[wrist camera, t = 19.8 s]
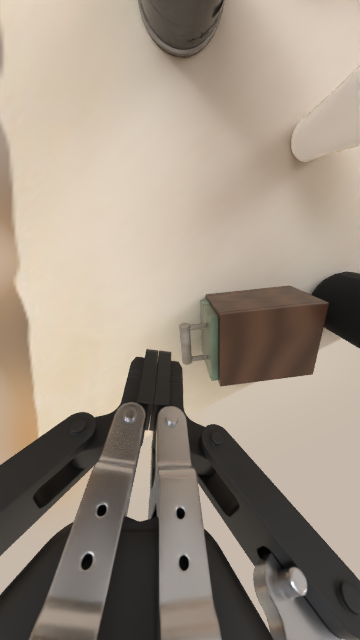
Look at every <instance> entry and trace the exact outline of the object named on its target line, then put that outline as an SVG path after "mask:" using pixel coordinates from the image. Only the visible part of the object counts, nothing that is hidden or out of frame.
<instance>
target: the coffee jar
mask: <svg viewBox="0 0 360 640" xmlns="http://www.w3.org/2000/svg"><path fill="white" fill-rule="evenodd" d="M312 296H315V297H317V298H319V299H321V300H324V301H326V302H328V303H329V305H328V310H327V314H326V318H325V323H324V327H325V328H326V329H328V330H330V331H331V332H333V333H335V334H336V335H338V336H340V337H341V338H343V339H345V340H346V341H348V342H350V343H351V344H353V345H355V346H356V347H358V348H360V274H359V273H353V272H343V273H339V274H335V275H333V276H331V277H329V278H327V279H325V280H324V281H323V282H321V283H320V284H319V285H318V286H317V288H316V289H315V290H314V292H313V293H312Z"/></svg>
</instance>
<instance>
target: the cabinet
mask: <svg viewBox="0 0 360 640" xmlns="http://www.w3.org/2000/svg"><path fill="white" fill-rule="evenodd" d="M206 299H207V300H208V302H209V303H210V305H211V306H212V308H213V309H214V311H215V312H216V314H217V315H218V317H219V380H218V382H219V384H220V386H227V385H235V384H242V383H250V382H258V381H265V380H273V379H281V378H288V377H296V376H303V375H311V374H313V371H314V367H315V362H316V358H317V353H318V349H319V345H320V340H321V336H322V332H323V327H324V323H325V318H326V314H327V310H328V305H329V303H328V302H326V301H324V300H321V299H319V298H317V297H315V296H312V295H310V294H308V293H305V292H303V291H301V290H299V289H296V288H294V287H292V286H282V287H272V288H263V289H253V290H244V291H235V292H225V293H216V294H206Z"/></svg>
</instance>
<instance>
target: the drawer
mask: <svg viewBox="0 0 360 640" xmlns="http://www.w3.org/2000/svg"><path fill="white" fill-rule="evenodd" d="M200 306H201V324H195V325H189V324H187V323H183V324H180V326H179V327H180V338H181V349H182V360H183V363H184V364H186V365H188V364H191V363H192V361H198V360H205V363H206V366H207V369H208V372H209V374H210V377H211V380H212V381H213V380H219V317H218V315H217V314H216V312H215V311H214V309H213V308H212V306H211V305H210V303H209V302H208V300H207V299H206V300H200ZM193 329H201V330H202V353H203V355H200V356H192V354H191V340H190V330H193Z"/></svg>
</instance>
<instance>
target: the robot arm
mask: <svg viewBox="0 0 360 640" xmlns="http://www.w3.org/2000/svg"><path fill="white" fill-rule="evenodd" d="M138 3H139V8H140V12H141V15H142V19H143V21H144V24H145V26H146V28H147V30H148V32H149V34H150V35H151V37H152V38H153V40H154V41H155V42H156V43H157V44H158V45H159V46H160V47H161V48H162V49H163V50H165V51H166V52H168V53H170V54H172V55H175V56H180V57H185V56H190V55H193V54H195V53H197V52H199V51H200V50H202V49H203V48H204V47H205V46H206V45H207V44H208V42H209V41H210V40H211V38H212V36H213V35H214V33H215V31H216V28H217V26H218V23H219V20H220V16H221V13H222V9H223V4H224V0H138ZM157 359H158V361H157ZM150 416H151V419H150ZM149 422H150V428H149V430H151V431H153V440H152V446H151V478H150V498H149V511H148V512H149V513H148V520H145V521H141V522H139V521H136V520H134V519H131V518H129V517H127V513H128V507H129V502H130V497H131V492H132V487H133V482H134V477H135V472H136V467H137V463H138V458H139V453H140V448H141V446H142V443H143V438H144V432H145V430H148V427H149ZM93 466H94V468H93V470H92V473H91V476H90V478H89V481H88V484H87V487H86V489H85V492H84V495H83V498H82V500H81V503H80V506H79V509H78V512H77V514H76V517H75V520H74V522H72V523H71V524H69V525H67V526H66V527H64V528H63V529H62V530H60V531H59V532H58V533H57V534H56V535H54V536H53V537H52V538H51V539H50V540H49V541H48V542H47V543H46V544H45V546H44V547H43V548H42V549H41V550H40V551H39V552H38V553H37V554H36V556H35V557H34V558H33V559H32V560H31V561H30V562H29V563H28V564H27V566H26V567H25V568H24V569H23V570H22V571H21V572H20V573H19V575H18V576H17V577H16V578H15V579H14V580H13V581H12V582H11V583H10V585H9V586H8V587H7V588H6V589H5V590H4V591H3V592H2V594H1V595H0V640H360V581H359V579H358V578H357V577H356V576H355V575H354V573H353V572H352V571H351V570H350V569H349V568H348V567H347V566H346V565H345V564H344V562H343V561H342V560H341V559H340V558H339V557H338V555H337V554H336V553H335V552H334V551H333V550H332V549H331V548H330V547H329V545H328V544H327V543H326V542H325V541H324V540H323V539H322V538H321V536H320V535H319V534H318V533H317V532H316V531H315V530H314V529H313V528H312V526H311V525H310V524H309V523H308V522H307V521H306V520H305V519H304V517H303V516H302V515H301V514H300V513H299V512H298V511H297V510H296V508H295V507H294V506H293V505H292V504H291V503H290V502H289V501H288V500H287V498H286V497H285V496H284V495H283V494H282V493H281V492H280V490H279V489H278V488H277V487H276V486H275V485H274V484H273V483H272V482H271V480H270V479H269V478H268V477H267V476H266V475H265V474H264V473H263V471H262V470H261V469H260V468H259V467H258V466H257V465H256V464H255V462H254V461H253V460H252V459H251V458H250V457H249V456H248V455H247V453H246V452H245V451H244V450H243V449H242V448H241V447H240V446H239V444H238V443H237V442H236V441H235V440H234V439H233V438H232V437H231V436H230V434H229V433H228V432H227V431H226V430H225V429H224V428H223V427H221V426H219V425H215V424H211V425H208V426H206V427H204V426H201V425H199V424H197V423H195V422H193V421H191V420H190V419H189V418H188V417H187V415H186V414H185V412H184V407H183V378H182V367H181V365H180V363H179V362H176V361H171V352H166V351H159V355H158V351H157V350H149V349H146V355H145V358H142V357H136V358H135V359H134V360H133V361H132V362H131V365H130V369H129V373H128V378H127V381H126V385H125V389H124V393H123V397H122V401H121V404H120V405H119V407H118V408H117V409H116V410H115V411H113V412H112V413H110V414H107V415H103V416H99V417H93V416H92V415H91V414H89V413H86V412H80V413H76V414H73V415H71V416H70V417H68V418H67V419H65V420H64V421H62V422H61V423H60V424H58V425H57V426H55V427H54V428H52V429H51V430H50V431H48V432H47V433H45V434H44V435H42V436H41V437H40V438H38V439H37V440H35V441H34V442H33V443H31V444H30V445H28V446H27V447H25V448H24V449H23V450H21V451H20V452H18V453H17V454H15V455H14V456H13V457H11V458H10V459H8V460H7V461H6V462H4V463H3V464H1V465H0V556H1V555H2V554H3V553H4V552H5V551H6V550H7V549H8V548H9V547H10V546H11V545H12V544H13V543H14V542H15V541H16V540H17V539H18V538H19V537H20V536H21V535H23V534H24V533H25V532H26V531H27V530H28V529H29V528H30V527H31V526H32V525H33V524H34V523H35V522H36V521H37V520H38V519H39V518H40V517H41V516H42V515H43V514H44V513H45V512H46V511H47V510H48V509H49V508H51V507H52V506H53V505H54V504H55V503H56V502H57V501H58V500H59V499H60V498H61V497H62V496H63V495H64V494H65V493H66V492H67V491H68V490H69V489H70V488H71V487H72V486H74V485H75V483H77V482H78V481H79V480H80V478H82V477H83V476H84V475H85V474H86V473H87V472H88V471H89V470H90V469H91V468H92V467H93ZM198 483H199V485H200V486H201V488H202V489H203V491H204V492H205V494H206V495H207V497H208V498H209V500H210V501H211V503H212V504H213V506H214V507H215V508H216V510H217V511H218V513H219V514H220V516H221V517H222V519H223V520H224V522H225V523H226V525H227V526H228V528H229V529H230V531H231V532H232V534H233V535H234V537H235V538H236V540H237V541H238V542H239V544H240V545H241V547H242V548H243V550H244V551H245V553H246V554H247V556H248V557H249V559H250V560H251V562H252V563H253V565H254V566H255V568H254V574H253V577H254V578H253V580H254V587H255V592H256V595H257V598H258V600H259V602H260V604H261V606H262V608H263V610H264V612H265V615H266V617H267V621H268V624H269V628H270V632H269V630H268V629H267V627H266V625H265V624H264V622H263V620H262V618H261V617H260V615H259V613H258V612H257V610H256V608H255V607H254V605H253V603H252V601H251V600H250V598H249V596H248V595H247V593H246V591H245V590H244V588H243V586H242V585H241V583H240V581H239V579H238V578H237V576H236V574H235V573H234V571H233V569H232V567H231V566H230V564H229V562H228V561H227V559H226V557H225V555H224V554H223V552H222V550H221V549H220V547H219V545H218V544H217V542H216V541H215V540H214V538H213V537H212V536H211V535H210V534H209V533H208V532H207V531H206V530H205V529H204V527H203V520H202V512H201V504H200V496H199V489H198Z"/></svg>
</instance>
